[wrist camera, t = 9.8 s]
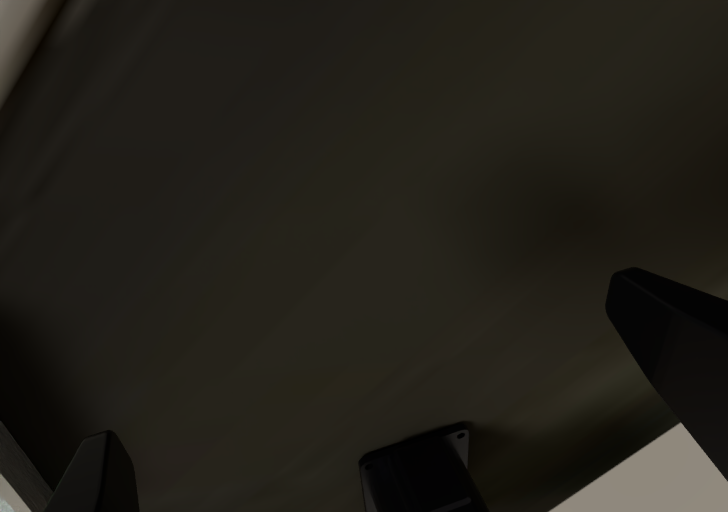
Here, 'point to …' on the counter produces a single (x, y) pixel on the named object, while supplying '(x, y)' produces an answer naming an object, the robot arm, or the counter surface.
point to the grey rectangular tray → (19, 479)
